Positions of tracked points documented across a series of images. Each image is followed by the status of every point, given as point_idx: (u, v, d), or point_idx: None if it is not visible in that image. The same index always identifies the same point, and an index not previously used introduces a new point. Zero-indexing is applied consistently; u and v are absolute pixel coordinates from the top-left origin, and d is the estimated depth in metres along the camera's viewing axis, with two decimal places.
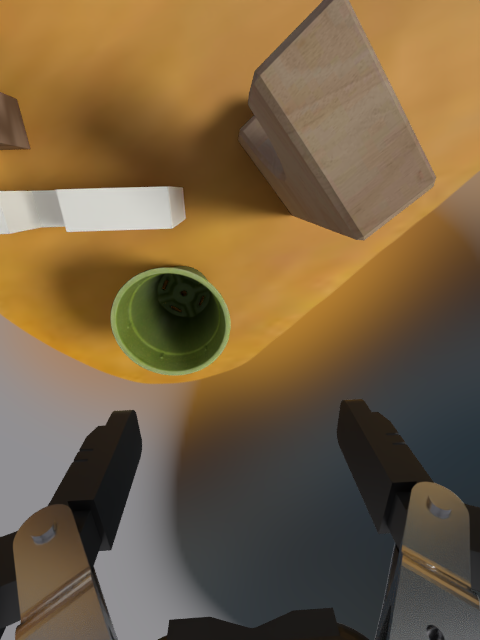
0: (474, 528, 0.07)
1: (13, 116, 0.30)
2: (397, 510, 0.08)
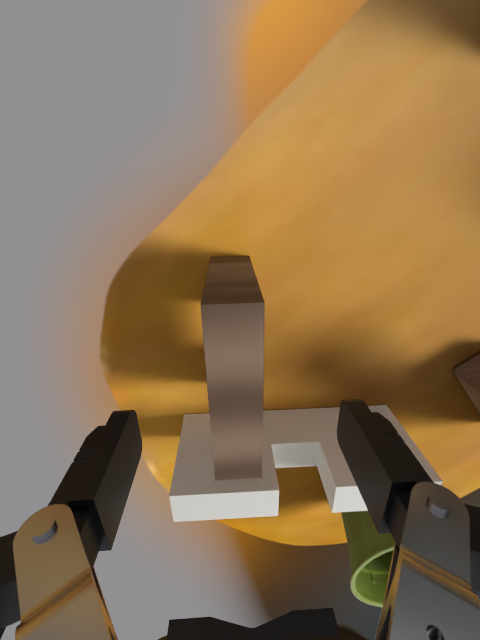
0: (474, 528, 0.07)
1: None
2: (397, 510, 0.08)
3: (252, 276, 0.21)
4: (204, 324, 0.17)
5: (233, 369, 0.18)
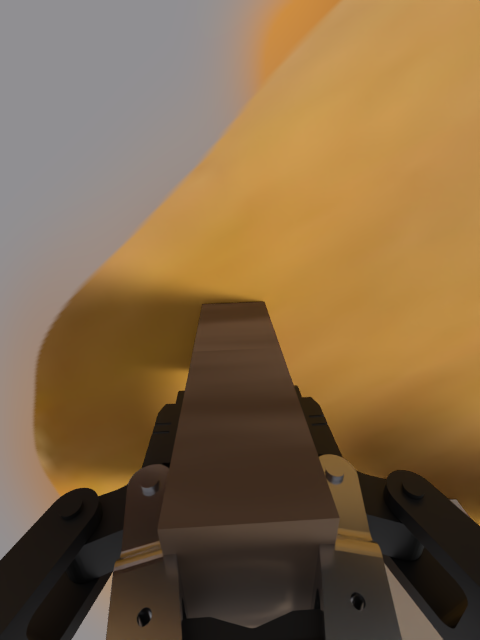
0: (365, 493, 0.08)
1: None
2: None
3: (280, 368, 0.10)
4: None
5: None
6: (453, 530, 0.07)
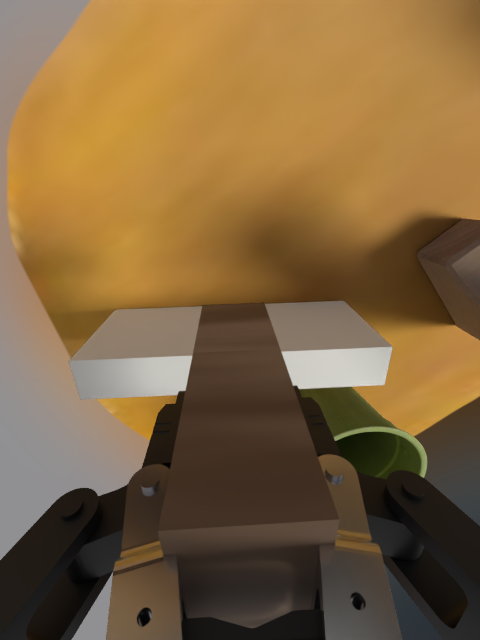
0: (364, 493, 0.08)
1: None
2: None
3: (280, 370, 0.10)
4: None
5: None
6: (453, 530, 0.07)
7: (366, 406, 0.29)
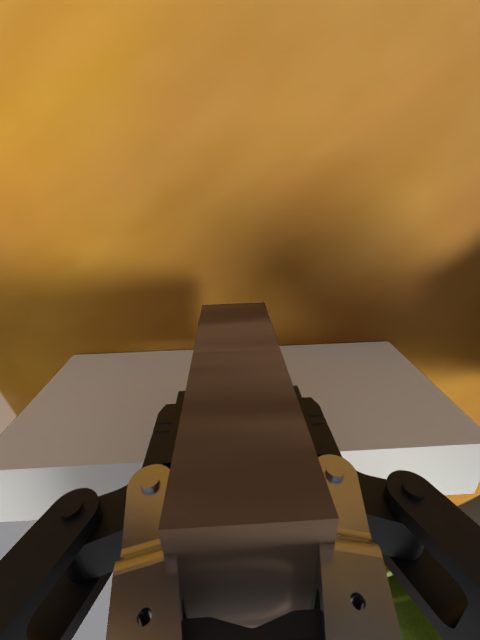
0: (364, 493, 0.08)
1: None
2: None
3: (280, 369, 0.10)
4: None
5: None
6: (453, 530, 0.07)
7: None
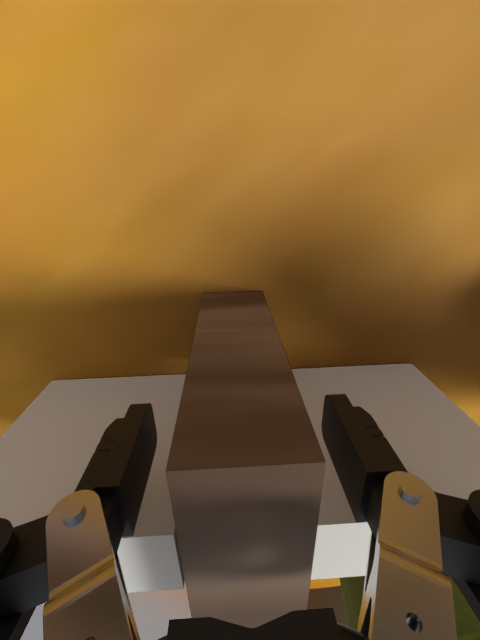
0: (443, 515, 0.07)
1: None
2: (372, 499, 0.08)
3: (276, 347, 0.11)
4: (177, 507, 0.07)
5: (245, 576, 0.08)
6: None
7: None
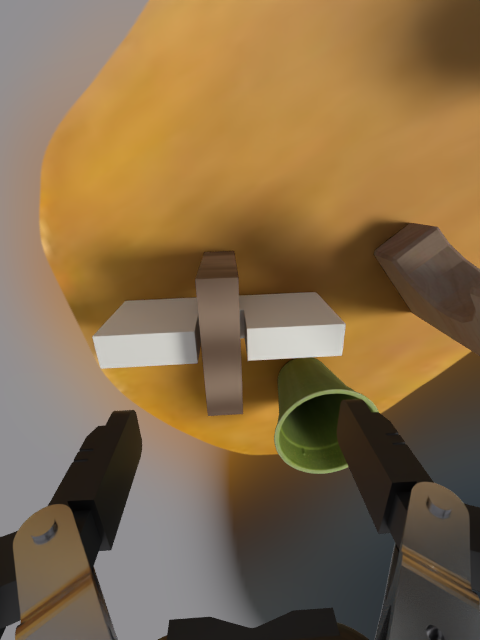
0: (474, 528, 0.07)
1: None
2: (397, 510, 0.08)
3: (233, 263, 0.29)
4: (198, 293, 0.24)
5: (218, 326, 0.26)
6: None
7: (334, 378, 0.35)
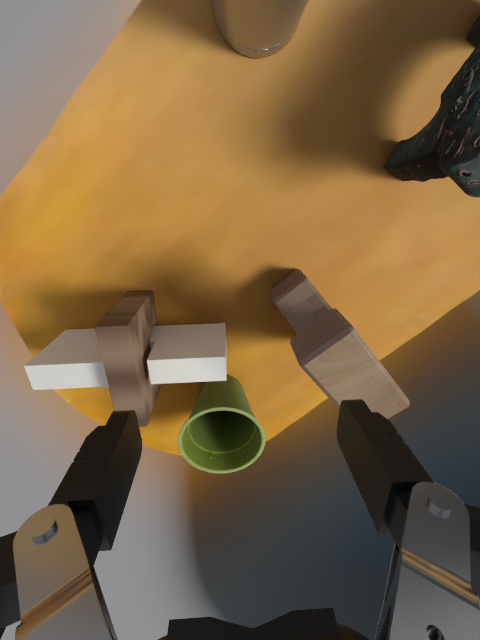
0: (474, 528, 0.07)
1: None
2: (397, 510, 0.08)
3: (138, 308, 0.36)
4: (97, 337, 0.32)
5: (117, 360, 0.33)
6: None
7: (233, 395, 0.42)
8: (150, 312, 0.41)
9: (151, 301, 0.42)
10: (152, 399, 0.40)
